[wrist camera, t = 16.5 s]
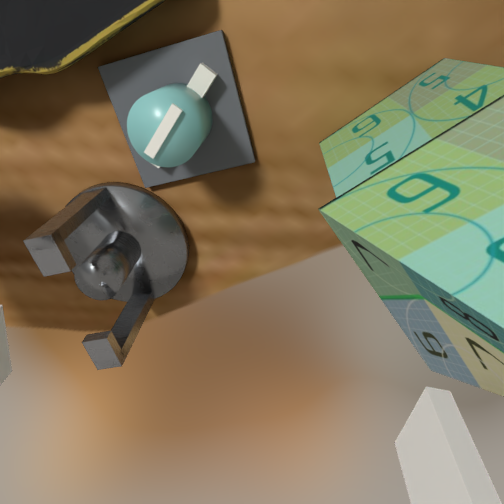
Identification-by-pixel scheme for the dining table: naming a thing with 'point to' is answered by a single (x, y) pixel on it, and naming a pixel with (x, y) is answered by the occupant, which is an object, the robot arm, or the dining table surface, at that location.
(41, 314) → the dining table surface
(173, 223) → the grey metal piece
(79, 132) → the dining table surface
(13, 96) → the dining table surface
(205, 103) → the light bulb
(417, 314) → the printed tall block
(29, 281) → the dining table surface
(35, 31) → the mask
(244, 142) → the coaster
